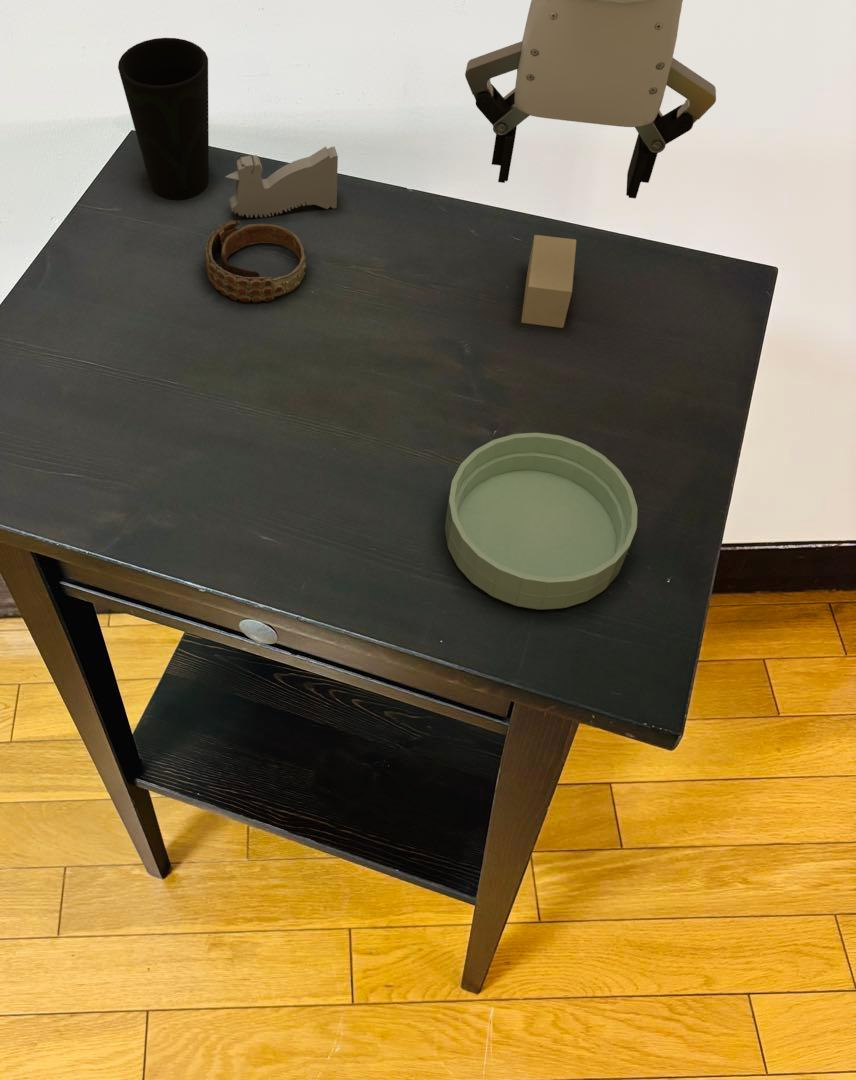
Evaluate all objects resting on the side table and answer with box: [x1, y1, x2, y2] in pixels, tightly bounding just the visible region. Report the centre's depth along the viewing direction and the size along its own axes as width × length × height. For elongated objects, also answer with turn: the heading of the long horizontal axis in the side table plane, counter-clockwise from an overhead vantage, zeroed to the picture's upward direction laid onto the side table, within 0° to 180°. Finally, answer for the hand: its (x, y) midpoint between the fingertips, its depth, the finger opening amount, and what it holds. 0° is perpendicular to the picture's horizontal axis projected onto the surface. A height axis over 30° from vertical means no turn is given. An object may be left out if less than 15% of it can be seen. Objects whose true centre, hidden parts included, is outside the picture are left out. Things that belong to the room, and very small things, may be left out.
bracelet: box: [204, 219, 307, 304], centre depth 92 cm, size 9×9×3 cm
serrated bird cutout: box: [224, 146, 339, 219], centre depth 95 cm, size 6×1×10 cm
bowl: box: [444, 432, 639, 611], centre depth 75 cm, size 13×13×4 cm
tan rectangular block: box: [520, 234, 577, 329], centre depth 89 cm, size 6×4×4 cm, turn 169°
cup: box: [117, 37, 210, 201], centre depth 95 cm, size 8×8×12 cm
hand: (567, 179), depth 81 cm, fingers open, 9 cm apart
